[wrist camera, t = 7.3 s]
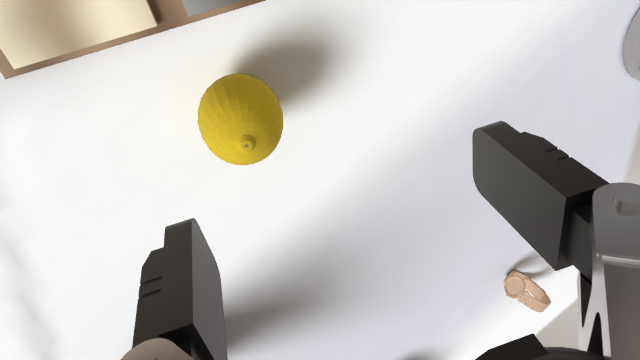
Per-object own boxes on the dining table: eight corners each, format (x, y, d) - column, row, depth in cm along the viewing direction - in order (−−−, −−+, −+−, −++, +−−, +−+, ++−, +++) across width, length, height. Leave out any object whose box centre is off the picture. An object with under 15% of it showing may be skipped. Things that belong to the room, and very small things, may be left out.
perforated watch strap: (508, 262, 51) (536, 295, 46) (535, 272, 53) (563, 304, 49) (493, 279, 52) (519, 312, 47) (519, 288, 54) (546, 321, 50)
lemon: (271, 56, 32) (291, 98, 26) (275, 126, 35) (294, 180, 29) (191, 61, 31) (191, 107, 24) (202, 133, 34) (205, 191, 27)
